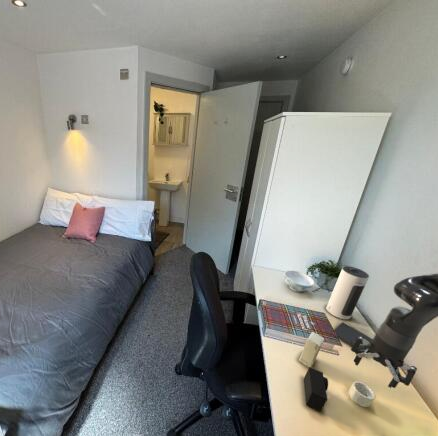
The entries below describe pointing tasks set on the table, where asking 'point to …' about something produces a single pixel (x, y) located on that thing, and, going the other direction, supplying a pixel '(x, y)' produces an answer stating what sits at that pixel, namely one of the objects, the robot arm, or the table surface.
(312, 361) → the cosmetic box
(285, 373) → the table surface
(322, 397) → the digital camera
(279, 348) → the table surface
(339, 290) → the speaker
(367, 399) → the white tape roll
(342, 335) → the scale
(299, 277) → the chinaware
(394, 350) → the robot arm
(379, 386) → the table surface
